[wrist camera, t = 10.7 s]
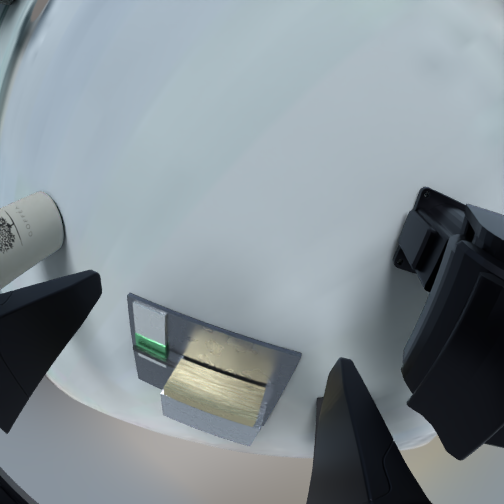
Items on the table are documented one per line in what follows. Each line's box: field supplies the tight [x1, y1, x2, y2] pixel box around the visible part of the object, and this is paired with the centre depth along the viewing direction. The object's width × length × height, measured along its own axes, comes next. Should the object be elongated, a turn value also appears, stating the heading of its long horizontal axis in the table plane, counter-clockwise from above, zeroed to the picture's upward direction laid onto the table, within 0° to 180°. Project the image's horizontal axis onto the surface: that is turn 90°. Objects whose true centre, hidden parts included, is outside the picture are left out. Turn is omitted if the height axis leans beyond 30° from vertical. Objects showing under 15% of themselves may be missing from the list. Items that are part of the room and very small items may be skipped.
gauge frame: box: [127, 293, 301, 446], centre depth 28 cm, size 19×16×5 cm
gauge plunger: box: [133, 345, 266, 427], centre depth 29 cm, size 16×8×5 cm, turn 78°
